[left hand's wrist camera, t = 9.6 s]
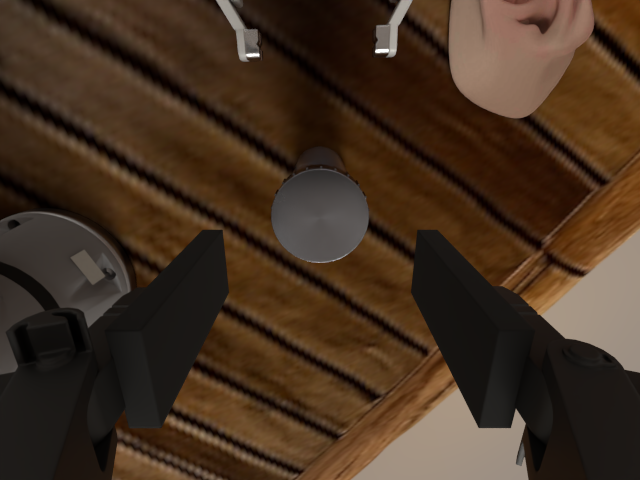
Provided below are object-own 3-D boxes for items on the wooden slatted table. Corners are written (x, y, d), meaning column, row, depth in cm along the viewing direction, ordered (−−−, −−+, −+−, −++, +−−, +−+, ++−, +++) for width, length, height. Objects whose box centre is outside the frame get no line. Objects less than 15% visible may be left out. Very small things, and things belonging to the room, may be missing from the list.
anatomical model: (581, 123, 29) (444, 109, 28) (551, 121, 32) (429, 109, 32) (649, -79, 24) (486, -98, 24) (605, -53, 28) (463, -70, 28)
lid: (305, 267, 22) (304, 279, 21) (255, 194, 21) (250, 201, 19) (382, 224, 21) (387, 234, 20) (336, 143, 20) (337, 147, 18)
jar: (312, 203, 35) (306, 268, 21) (286, 163, 34) (261, 202, 20) (353, 179, 35) (377, 229, 20) (328, 136, 33) (334, 157, 19)
